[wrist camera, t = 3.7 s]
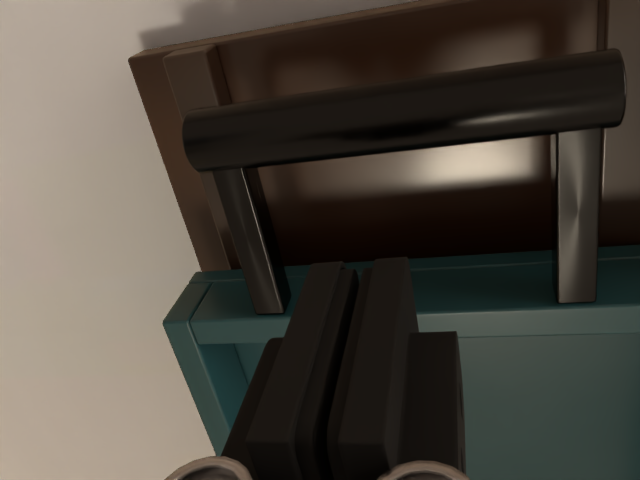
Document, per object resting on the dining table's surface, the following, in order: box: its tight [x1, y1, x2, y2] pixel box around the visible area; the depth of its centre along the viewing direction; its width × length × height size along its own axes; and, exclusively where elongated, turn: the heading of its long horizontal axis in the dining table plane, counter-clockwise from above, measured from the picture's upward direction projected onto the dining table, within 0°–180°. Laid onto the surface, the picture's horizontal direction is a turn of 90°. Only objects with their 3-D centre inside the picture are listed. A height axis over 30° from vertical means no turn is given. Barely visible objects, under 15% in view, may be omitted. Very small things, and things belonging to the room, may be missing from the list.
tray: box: [163, 48, 640, 480], centre depth 17 cm, size 23×13×3 cm, turn 11°
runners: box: [128, 0, 640, 272], centre depth 20 cm, size 26×14×2 cm, turn 11°
